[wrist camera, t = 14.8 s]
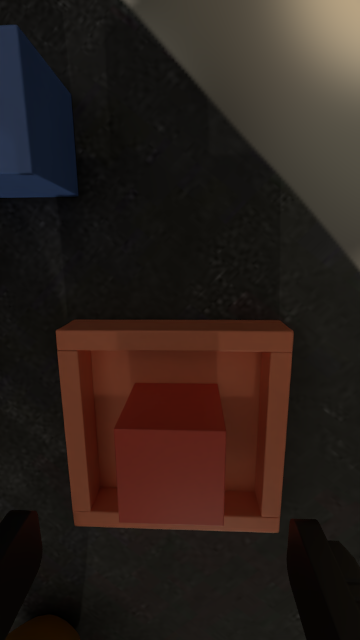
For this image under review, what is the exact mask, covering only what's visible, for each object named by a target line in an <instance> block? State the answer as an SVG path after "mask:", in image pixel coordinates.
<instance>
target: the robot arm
mask: <svg viewBox="0 0 360 640" xmlns="http://www.w3.org/2000/svg"><path fill="white" fill-rule="evenodd" d="M41 559H42V541H41V534H40V526H39V519H38V514H37V512H36V511H25V510H11V511H10V512H8V513H7V515H6V516H5V517H4V519H3V520H2V522H1V523H0V640H5V639H6V637H7V635H8V633H9V631H10V628H11V626H12V624H13V622H14V620H15V618H16V616H17V614H18V612H19V610H20V608H21V606H22V604H23V601H24V599H25V597H26V595H27V593H28V591H29V589H30V587H31V585H32V583H33V581H34V579H35V577H36V574H37V572H38V570H39V567H40V563H41ZM287 570H288V576H289V581H290V585H291V588H292V592H293V595H294V598H295V602H296V605H297V609H298V612H299V615H300V619H301V622H302V626H303V629H304V633H305V636H306V639H307V640H360V567H359V565H358V564H357V562H356V560H355V558H354V557H353V556H352V555H351V554H350V553H349V552H348V551H347V550H346V548H345V547H344V546H343V545H342V544H341V543H340V542H339V541H327V539H326V537H325V534H324V532H323V530H322V528H321V526H320V524H319V522H318V521H317V520H316V519H291V520H290V525H289V537H288V548H287Z"/></svg>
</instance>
